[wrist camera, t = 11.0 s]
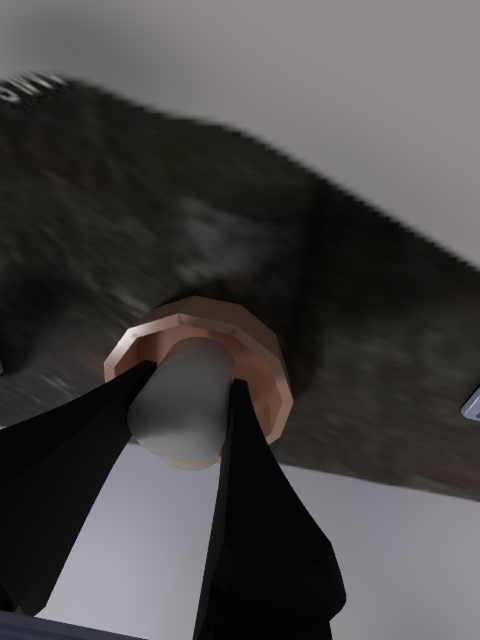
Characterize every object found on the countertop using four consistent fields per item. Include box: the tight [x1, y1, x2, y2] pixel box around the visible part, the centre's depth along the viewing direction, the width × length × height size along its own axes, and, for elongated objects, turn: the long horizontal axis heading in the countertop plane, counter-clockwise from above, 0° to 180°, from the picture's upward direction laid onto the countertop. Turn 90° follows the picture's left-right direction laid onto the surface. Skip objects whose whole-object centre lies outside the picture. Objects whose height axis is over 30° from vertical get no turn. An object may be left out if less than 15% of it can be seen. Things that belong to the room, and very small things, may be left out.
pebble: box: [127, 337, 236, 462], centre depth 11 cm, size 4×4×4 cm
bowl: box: [104, 295, 293, 463], centre depth 15 cm, size 11×11×3 cm
